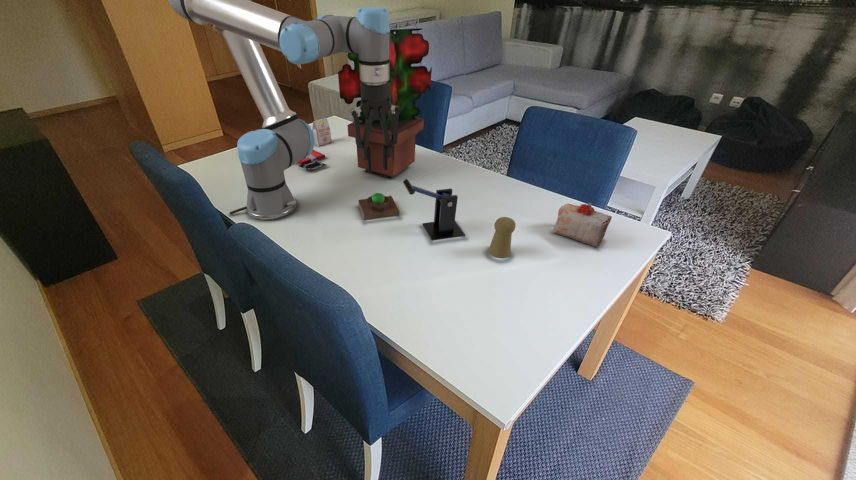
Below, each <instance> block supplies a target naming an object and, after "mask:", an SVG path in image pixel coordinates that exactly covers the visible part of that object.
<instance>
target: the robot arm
mask: <svg viewBox="0 0 856 480" xmlns="http://www.w3.org/2000/svg"><path fill="white" fill-rule="evenodd" d="M167 3H168V4H169V6H170V7H171V8H172V10H173V11H174V12H175V13H176V14H178V15H179V16H180V17H181V18H183V19H185V20H187V21H189V22H192V23H195V24H196V25H199V26H207V25H210V26H211V28H212V30H213V31H215V32H217V33H219V34H221V36H222V38H223V40H224V42H225V44H226V46H227V48H228V51H229V52H230V54H231V56H232V58H233V61H234V62H235V64H236V66H237V68H238V71H239V72H240V74H241V76H242V78H243V81H244V83H245V84H246V85H245V86H246V87H247V89H248V91H249V93H250V95H251V98H252V99H253V102H254V103H255V105H256V107H257V109H258V111H259V113H260V116H261V118H262V119H263V122H262V126H261V128H260V129H256V130H251V131H248V132H246V133H245V134H243V135H242V136H241V137H239V139H238V140H237V142H236V148H237V157H238V159H239V162H240V165H241V169H242V173H243V176H244V179H245V180H244V181H245V184H246V187H247V196H246V206H243V207H240V208H237V209H234V210H231V211H230V212H229V215H233V214H237V213H239V212H241V211H242V212H243V211H245V210H247V213H248V215H249V216H250V217H251V218H253V219H255V220H259V221H273V220H278V219H283V218H284V217H287V216H289V215H291V214H292V213H293V212H294V211H295V209H296V207H297V200H296V199H295V197H294V195H293V193H292V192H291V189H290V188H289V186H288V185H287V181H286V177H285V171H286V170H287V169H289V168H291V167H292V166H294V165H296V164H298V163H297V162H299V161H301V160H304V159H305V158H306V157H307V156H308V155H310V154H311V152H312V151H313V150H314V148H315V140H314V134H313V131H312V128H311V126H310V124H308V123H307V122H306V121H305V120H303V119H300V118H299V116H298V114H297V112H295V111H294V110H291V109H290V107H289V106H288V104H287V101H286V99H285V97H284V94H283V92H282V90H281V88H280V86H279V84H278V81H277V79H276V77H275V74H274V73H273V70H272V67H271V66H270V64H269V61H268V60H267V57H266V55H265V53H264V51H263V48H262V46H261V45H264V46H266V47H268V48H271V49H273V50H276V51H278V52H281V53H282V55H283V56H284V57H285V58H286V60H287V61H288V62H290V63H291V64H294V65H297V66H298V65H299V66H300V65H306V64H307V65H308V64H311V63H312V62H315V61H318V60H320V59H323V58H326V57H330V56H333V55H337V54H339V53H340V54H341V53H347V54H348V53H355V54H357V53H358V54H359V66H360V80H361V81H362V82H361V84H360V88H361V98H360V100H361V103H360V105H359V107H357V106H356V107H355V108H351V109H350V110H349V111H350V113H351V116H352V119H353V122H354V130H355V138H354V140H355V145H356V148H357V147H358V148H362V149H363V158H364V160H367V169H368V171H369V172H368V173H370V172H371V150H370V148H369V146H368V144H369V138H370V132H371V126H372V123H373V121H375V120H380V122H381V126H382V131H383V135H384V140H385V144H386V145H383V167H384V169H385V170H388V163H387V158H390V157H391V147H392V145H394V144H397V139H398V116H399V114H400V111H401V109H400V107H399V106H398V105H392V104H391V102H390V84H389V82H388V80H389V79H390V73H389V33H390V30H391V28H390V14H389V11H388V9H387V8H386V7H385V6H384V7H383V6H361V7H358V8H357V10H356V16H346V15H345V16H344V15H334V14H325V15H324V14H322V15H318V16H317V17H316V18H315V19H313V20H304V19H300V18H298V17H295V16H292V15H290V14H288V13H285V12H281V11H279V10H276V9H273V8H271V7H268V6H265V5H262V4H260V3H257V2H254V1H252V0H167ZM390 109H391V113H392V129H391V139H390V137H389V132H388V128H387V121H386V117H385V116H386V115H387V113H388V112H389V110H390ZM361 111H362V112H363V113H364V115H365V116H366V120H365V121H366V122H365V129H364V135H363V142H361V134H360V123H359V118H358V117H360V112H361Z"/></svg>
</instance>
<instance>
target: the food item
mask: <svg viewBox="0 0 856 480" xmlns="http://www.w3.org/2000/svg"><path fill="white" fill-rule="evenodd" d="M557 212H558V213H557V218H556V220H555V225H554V228H553V234H556V235H559V236H563V237H567V238H569V239H572V240H575V241H576V242H577V241H578V242H580V243H583V244H586V245H589V246H592V247H594V248H599V247H600V246H601V244H602V242H603V239H604V237H605V235H606V232H607V229H608V227H609V225H610V224H611V221H612V218H613V216H612V215H609V214H606V213H603V212H599V211H596V210H595V208H594V207H592V203H591V202H589V203H583V204H580V205H575V204H571V203H565V204H563V205H562V206H560V207H559V209H558V211H557Z"/></svg>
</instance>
